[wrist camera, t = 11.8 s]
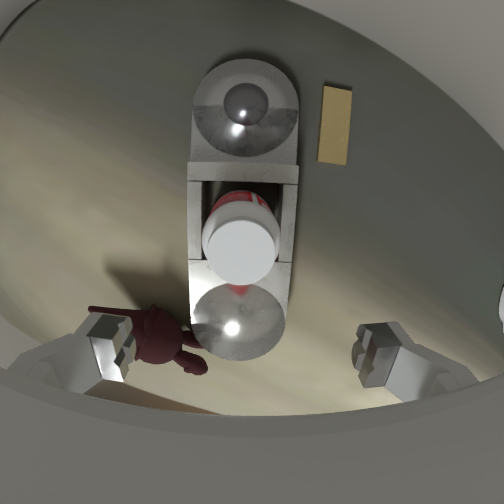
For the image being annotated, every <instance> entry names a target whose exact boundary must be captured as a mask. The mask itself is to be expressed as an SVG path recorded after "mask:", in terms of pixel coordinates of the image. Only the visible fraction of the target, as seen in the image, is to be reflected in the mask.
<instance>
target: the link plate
mask: <svg viewBox="0 0 504 504" xmlns="http://www.w3.org/2000/svg"><path fill="white" fill-rule="evenodd" d="M351 100H352V91H347V90H343V89H338V88H333V87H328V86H323V87H322V100H321V113H320V124H319V136H318V146H317V156H316V161H319V162H326V163H333V164H340V165H346V158H347V148H348V138H349V127H350V114H351Z"/></svg>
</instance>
